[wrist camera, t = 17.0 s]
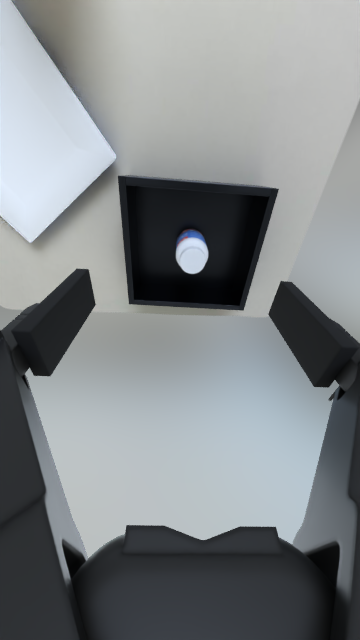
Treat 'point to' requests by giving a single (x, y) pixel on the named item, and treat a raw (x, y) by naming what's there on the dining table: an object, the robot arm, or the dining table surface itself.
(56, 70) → the plate
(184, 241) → the pill bottle
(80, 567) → the robot arm
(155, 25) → the dining table surface
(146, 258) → the basin
